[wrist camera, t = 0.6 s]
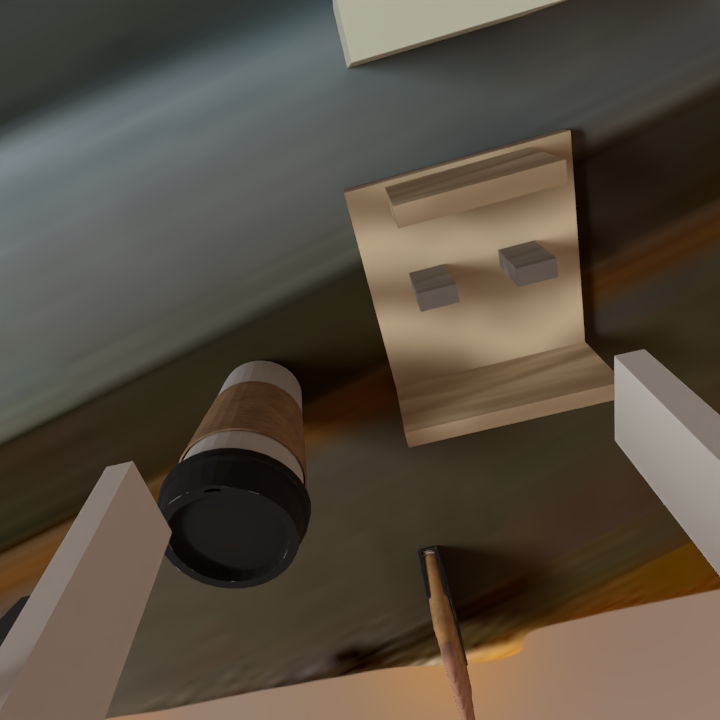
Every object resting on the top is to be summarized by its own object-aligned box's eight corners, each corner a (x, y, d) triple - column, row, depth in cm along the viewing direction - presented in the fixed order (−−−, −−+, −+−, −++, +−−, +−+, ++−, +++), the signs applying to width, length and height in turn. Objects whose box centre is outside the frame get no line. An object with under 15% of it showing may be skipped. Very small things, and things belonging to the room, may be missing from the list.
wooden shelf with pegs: (344, 189, 34) (345, 213, 28) (562, 128, 33) (615, 139, 27) (398, 395, 41) (409, 451, 35) (579, 352, 40) (623, 401, 34)
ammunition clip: (417, 549, 49) (439, 677, 38) (437, 544, 49) (465, 672, 38) (439, 622, 54) (464, 754, 43) (457, 618, 54) (486, 750, 43)
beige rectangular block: (333, 8, 30) (331, -23, 21) (511, -46, 29) (589, -104, 20) (347, 68, 31) (351, 62, 22) (518, 17, 30) (593, -10, 21)
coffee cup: (310, 339, 39) (296, 472, 26) (324, 434, 43) (318, 592, 29) (196, 350, 39) (122, 488, 26) (220, 443, 43) (167, 606, 29)
